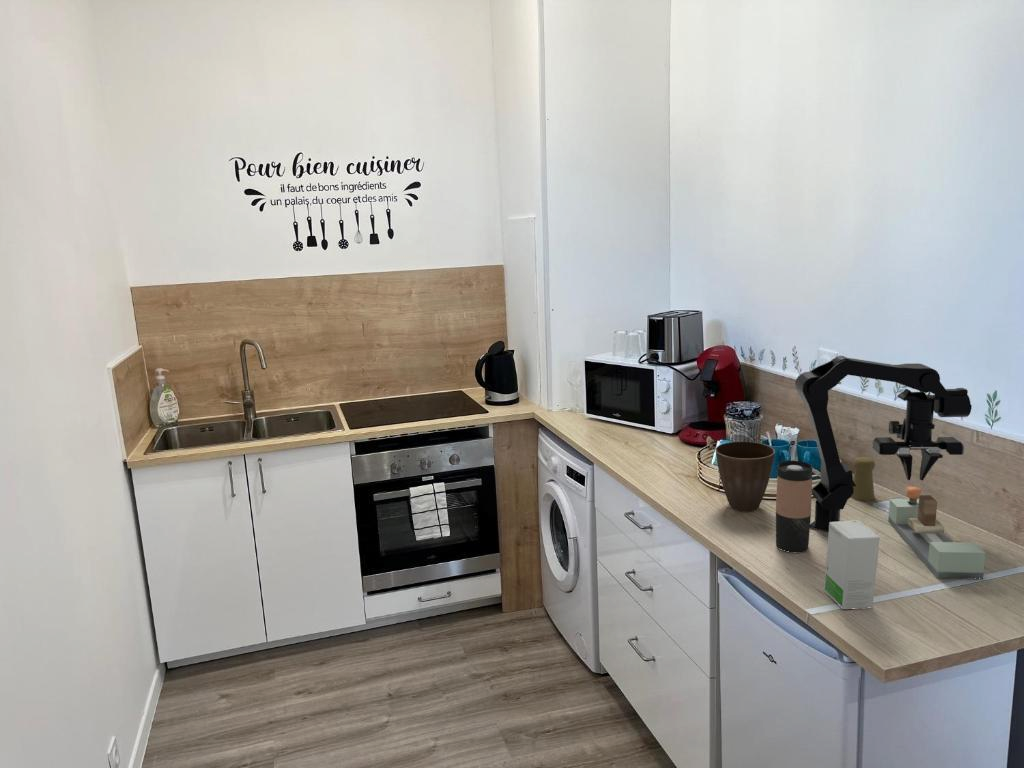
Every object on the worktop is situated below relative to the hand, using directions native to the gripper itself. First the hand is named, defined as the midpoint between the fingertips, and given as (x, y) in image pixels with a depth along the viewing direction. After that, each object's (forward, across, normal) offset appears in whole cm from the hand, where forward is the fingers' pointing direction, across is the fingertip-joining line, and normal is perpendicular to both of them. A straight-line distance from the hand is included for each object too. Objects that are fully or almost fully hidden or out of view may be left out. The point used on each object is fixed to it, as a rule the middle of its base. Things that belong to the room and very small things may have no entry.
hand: (914, 479), depth 183 cm
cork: (+12, +6, -20) cm, 24 cm away
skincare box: (+12, +25, +38) cm, 47 cm away
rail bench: (+12, 0, +12) cm, 17 cm away
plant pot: (+12, +38, -12) cm, 42 cm away
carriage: (+9, 0, +9) cm, 12 cm away
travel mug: (+12, +31, +13) cm, 36 cm away
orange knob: (+6, 0, 0) cm, 6 cm away
